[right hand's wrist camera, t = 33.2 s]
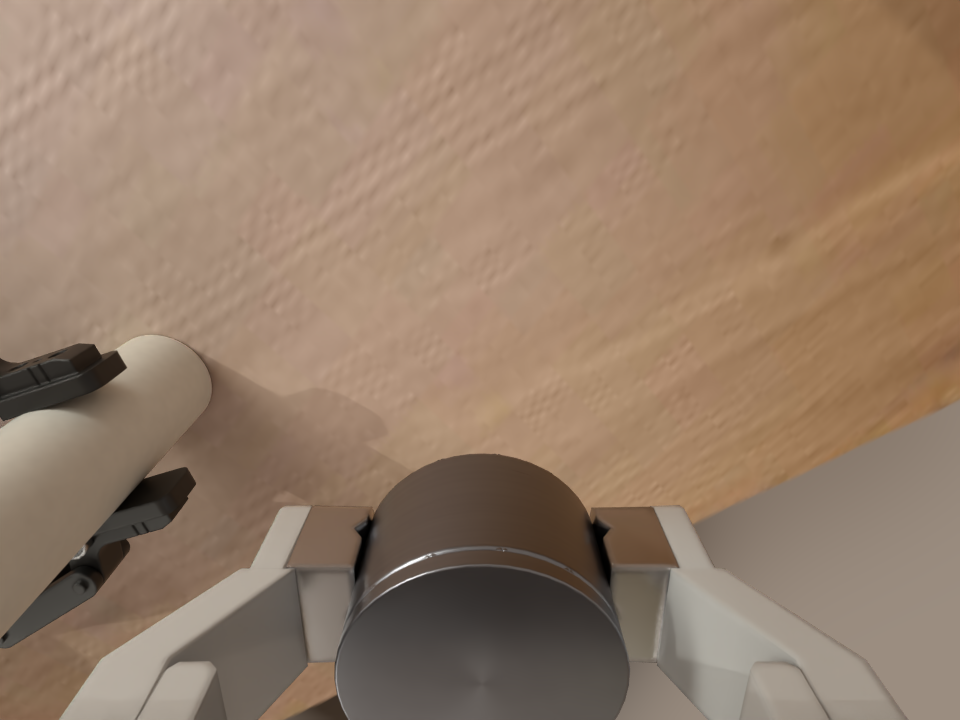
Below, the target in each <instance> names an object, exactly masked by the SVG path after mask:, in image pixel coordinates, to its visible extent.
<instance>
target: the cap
mask: <svg viewBox="0 0 960 720" xmlns="http://www.w3.org/2000/svg"><path fill="white" fill-rule="evenodd" d="M629 676H630V666H629V657H628V653H627V649H626V645H625V642H624V638H623V635H622V631H621V627H620V624H619V620H618V616H617V613H616V609H615V605H614V602H613V598H612V595H611V591H610V588H609V584H608V580H607V577H606V573H605V569H604V566H603V562H602V558H601V554H600V551H599V547H598V544H597V540H596V537H595V533H594V529H593V526H592V522H591V519H590V517H589V515H588V513H587V511H586V508H585V507H584V505H583V504H582V502H581V501H580V499H579V498H578V497H577V496H576V494H575V493H574V492H573V491H572V490H571V489H570V488H569V487H568V486H567V485H566V484H565V483H563V482H562V481H561V480H560V479H559V478H557V477H556V476H554V475H553V474H552V473H550V472H549V471H547V470H545V469H543V468H541V467H539V466H536V465H534V464H532V463H530V462H527V461H524V460H521V459H518V458H514V457H509V456H504V455H500V454H498V455H497V454H467V455H460V456H454V457H450V458H446V459H441V460H438V461H436V462H434V463H431V464H429V465H426V466H424V467H422V468H420V469H419V470H417V471H415V472H413V473H412V474H410V475H409V476H407V477H406V478H405V479H403V480H402V481H401V482H399V483H398V484H397V485H396V486H395V487H394V488H393V489H392V490H391V491H390V492H389V493H388V494H387V495H386V497H385V498H384V499H383V501H382V502H381V503H380V505H379V507H378V508H377V510H376V512H375V514H374V516H373V519H372V522H371V526H370V529H369V533H368V537H367V540H366V542H365V546H364V550H363V556H362V560H361V564H360V568H359V572H358V576H357V579H356V583H355V586H354V589H353V592H352V596H351V600H350V604H349V608H348V611H347V615H346V619H345V623H344V627H343V632H342V635H341V638H340V642H339V646H338V650H337V655H336V660H335V684H336V690H337V695H338V698H339V701H340V703H341V706H342V709H343V711H344V712H345V714H346V716H347V718H348V720H615V719H616V717H617V716H618V714H619V712H620V710H621V708H622V706H623V703H624V701H625V698H626V693H627V690H628V686H629Z"/></svg>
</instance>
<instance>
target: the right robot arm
mask: <svg viewBox="0 0 960 720" xmlns="http://www.w3.org/2000/svg"><path fill="white" fill-rule="evenodd" d="M373 516H374V510H373V508H372V507H357V506H284V507H282V508H281V509H280V510H279V512H278V514H277V515H276V517H275V519H274V521H273V523H272V525H271V527H270V529H269V531H268V533H267V535H266V537H265V539H264V541H263V543H262V545H261V547H260V549H259V551H258V553H257V555H256V557H255V559H254V561H253V563H252V565H251V567H250V568H242V569H239V570H238V571H236V572H235V573H233V574H232V575H230V576H228V577H227V578H225V579H224V580H222V581H221V582H219V583H218V584H216V585H215V586H213V587H211V588H210V589H208V590H207V591H205V592H204V593H202V594H201V595H199V596H198V597H196V598H194V599H193V600H191V601H190V602H188V603H187V604H185V605H184V606H182V607H181V608H179V609H177V610H176V611H174V612H173V613H171V614H170V615H168V616H167V617H165V618H164V619H162V620H160V621H159V622H157V623H156V624H154V625H153V626H151V627H150V628H148V629H146V630H145V631H143V632H142V633H140V634H139V635H137V636H136V637H134V638H133V639H131V640H129V641H128V642H126V643H125V644H123V645H122V646H120V647H119V648H117V649H116V650H114V651H112V652H111V653H109V654H108V655H106V656H105V657H103V658H102V659H101V660H100V661H99V663H98V664H97V666H96V667H95V668H94V670H93V671H92V673H91V674H90V676H89V677H88V679H87V680H86V681H85V683H84V684H83V686H82V687H81V689H80V690H79V691H78V693H77V694H76V696H75V697H74V699H73V700H72V702H71V703H70V704H69V706H68V707H67V709H66V710H65V712H64V713H63V715H62V716H61V717H60V719H59V720H258V719H259V718H260V717H261V716H262V715H263V713H264V712H265V711H266V710H267V709H268V708H269V707H270V706H271V705H272V704H273V703H274V702H275V701H276V699H277V698H278V697H279V696H280V695H281V694H282V693H283V692H284V691H285V690H286V689H287V688H288V687H289V686H290V684H291V683H292V682H293V681H294V680H295V679H296V678H297V677H298V676H299V675H300V674H301V673H302V672H303V670H304V669H305V668H306V667H307V666H308V664H307V663H316V662H335V660H336V655H337V650H338V646H339V642H340V638H341V635H342V632H343V627H344V623H345V619H346V615H347V611H348V608H349V604H350V600H351V596H352V592H353V589H354V586H355V583H356V579H357V576H358V572H359V568H360V564H361V560H362V556H363V550H364V546H365V542H366V540H367V537H368V533H369V529H370V526H371V522H372V519H373ZM590 519H591V522H592V526H593V529H594V533H595V537H596V540H597V544H598V547H599V551H600V554H601V558H602V562H603V566H604V569H605V573H606V577H607V580H608V584H609V588H610V591H611V595H612V598H613V602H614V605H615V609H616V613H617V616H618V620H619V624H620V627H621V631H622V635H623V638H624V642H625V645H626V649H627V653H628V657H629V662H649V663H657V666H658V667H659V668H660V669H661V670H662V671H663V672H664V673H665V674H666V675H667V676H668V678H669V679H670V680H671V681H672V682H673V683H674V684H675V685H676V686H677V687H678V688H679V689H680V690H681V692H682V693H683V694H684V695H685V696H686V697H687V698H688V699H689V700H690V701H691V702H692V703H693V704H694V705H695V706H696V707H697V709H698V710H699V711H700V712H701V713H702V714H703V715H704V716H705V717H706V718H707V719H708V720H908V719H907V717H906V716H905V714H904V713H903V712H902V710H901V709H900V707H899V706H898V704H897V703H896V702H895V700H894V699H893V697H892V696H891V694H890V693H889V691H888V690H887V689H886V687H885V686H884V684H883V683H882V682H881V680H880V679H879V677H878V676H877V674H876V673H875V672H874V670H873V669H872V667H871V666H870V664H869V663H868V662H867V660H866V659H864V658H863V657H861V656H860V655H858V654H857V653H855V652H853V651H852V650H850V649H849V648H847V647H846V646H844V645H843V644H841V643H839V642H838V641H836V640H835V639H833V638H832V637H830V636H829V635H827V634H825V633H824V632H822V631H821V630H819V629H818V628H816V627H815V626H813V625H811V624H810V623H808V622H807V621H805V620H804V619H802V618H801V617H799V616H797V615H796V614H794V613H793V612H791V611H790V610H788V609H787V608H785V607H783V606H782V605H780V604H779V603H777V602H776V601H774V600H773V599H771V598H769V597H768V596H766V595H765V594H763V593H762V592H760V591H759V590H757V589H755V588H754V587H752V586H751V585H749V584H748V583H746V582H745V581H743V580H741V579H740V578H738V577H737V576H735V575H734V574H732V573H731V572H729V571H727V570H726V569H723V568H722V569H721V568H715V566H714V565H713V563H712V561H711V559H710V557H709V555H708V553H707V551H706V549H705V547H704V545H703V544H702V542H701V540H700V538H699V536H698V534H697V532H696V530H695V528H694V526H693V524H692V523H691V521H690V519H689V517H688V515H687V513H686V511H685V509H684V508H683V507H681V506H680V505H667V506H650V507H594V508H591V512H590Z"/></svg>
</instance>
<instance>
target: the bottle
mask: <svg viewBox="0 0 960 720" xmlns="http://www.w3.org/2000/svg"><path fill="white" fill-rule="evenodd" d="M115 350H117V351H118V353H119V355H120V356H121V358H122V360H123V361H124V363H125V365H126V366H127V369H126V370H124V371H123V372H122V373H120V374H119V375H118V376H116V377H115V378H114V379H112V380H111V381H110V382H109V383H107V384H106V385H104V386H103V387H101V388H99V389H98V390H95V391H93V392H91V393H89V394H86V395H83V396H80V397H77V398H74V399H70V400H67V401H64V402H61V403H58V404H55V405H52V406H49V407H46V408H42V409H39V410H36V411H33V412H29V413H26V414H23V415H21V416H18V417H16V418H15V419H13V420H12V421H11V422H9V423H8V424H6V425H5V426H3V427H2V428H0V638H1V637H2V636H3V635H4V634H5V633H6V632H7V631H8V630H9V628H10V627H11V626H12V625H13V624H14V623H15V622H16V621H17V620H18V618H19V617H20V616H21V615H22V614H23V613H24V612H25V611H26V609H27V608H28V607H29V606H30V605H31V604H32V603H33V602H34V601H35V599H36V598H37V597H38V596H39V595H40V594H41V593H42V592H43V590H44V589H45V588H46V587H47V586H48V585H49V584H50V583H51V582H52V580H53V579H54V578H55V577H56V576H57V575H58V574H59V573H60V571H61V570H62V569H63V568H64V567H65V566H66V565H67V564H68V563H69V561H70V560H71V559H72V558H73V557H74V556H75V555H76V554H77V553H78V551H79V550H80V549H81V548H82V547H83V546H84V545H85V544H86V542H87V541H88V540H89V539H90V538H91V537H92V536H93V535H94V534H95V532H96V531H97V530H98V529H99V528H100V527H101V526H102V525H103V523H104V522H105V521H106V520H107V519H108V518H109V517H110V516H111V515H112V513H113V512H114V511H115V510H116V509H117V508H118V507H119V506H120V504H121V503H122V502H123V501H124V500H125V499H126V498H127V497H128V496H129V494H130V493H131V492H132V491H133V490H134V489H135V488H136V487H137V486H138V484H139V483H140V482H141V481H142V480H143V479H144V478H145V477H146V475H147V474H148V473H149V472H150V471H151V470H152V469H153V468H154V467H155V465H156V464H157V463H158V462H159V461H160V460H161V459H162V458H163V456H164V455H165V454H166V453H167V452H168V451H169V450H170V449H171V448H172V446H173V445H174V444H175V443H176V442H177V441H178V440H179V439H180V437H181V436H182V435H183V434H184V433H185V432H186V431H187V430H188V429H189V427H190V426H191V425H192V424H193V423H194V422H195V421H196V420H197V419H198V417H199V416H200V415H201V414H202V413H203V412H204V410H205V409H206V408H207V406H208V404H209V402H210V399H211V395H212V383H211V378H210V375H209V372H208V370H207V368H206V366H205V364H204V363H203V361H202V360H201V358H200V357H199V356H198V355H197V354H196V353H195V352H194V351H193V350H192V349H190V348H189V347H187V346H186V345H185V344H183V343H181V342H179V341H177V340H175V339H172V338H169V337H166V336H161V335H143V336H138V337H135V338H133V339H131V340H129V341H127V342H126V343H124V344H123V345H121V346H120V347H118V348H117V349H115ZM115 350H114V351H115Z"/></svg>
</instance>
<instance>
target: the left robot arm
mask: <svg viewBox="0 0 960 720" xmlns="http://www.w3.org/2000/svg"><path fill="white" fill-rule="evenodd" d="M126 369H127V366H126V365H125V363H124V361H123V360H122V358H121V356H120V355H119V353H118V351H117V350H115V351H111V352H108V353H105V354H102V355H100V353H99V351H98V350H97V348H96V347H95V345H94V344H76V345H73V346H70V347H67V348H64V349H61V350H58V351H55V352H52V353H49V354H46V355H43V356H40V357H37V358H34V359H31V360H28V361H25V362H22V363H10V362H7V361H4V360H2V359H1V358H0V417H1V419H2V420H3V421H5V420H8V419H11V418H14V417H18V416H21V415H23V414H26V413H29V412H33V411H36V410H39V409H42V408H46V407H49V406H52V405H55V404H58V403H61V402H64V401H67V400H70V399H74V398H77V397H80V396H83V395H86V394H89V393H91V392H93V391H95V390H98V389H99V388H101V387H103V386H104V385H106V384H107V383H109V382H110V381H111V380H112V379H114V378H115V377H116V376H118V375H119V374H120V373H122V372H123V371H124V370H126ZM195 485H196V482H195V480H194V479H193V477H192V475H191V474H190V472H189V470H188V469H187V468H186V467H183V468H179V469H176V470H172V471H169V472H165V473H162V474H159V475H155V476H152V477H148V478H145V479H143V480H142V481H141V482H140V483H139V484H138V486H137V487H136V488H135V489H134V490H133V491H132V492H131V493H130V494H129V496H128V497H127V498H126V499H125V500H124V501H123V502H122V503H121V504H120V506H119V507H118V508H117V509H116V510H115V511H114V512H113V513H112V515H111V516H110V517H109V518H108V519H107V520H106V521H105V522H104V523H103V525H102V526H101V527H100V528H99V529H98V530H97V531H96V532H95V534H94V535H93V536H92V537H91V538H90V539H89V540H88V541H87V542H86V544H85V545H84V546H83V547H82V548H81V549H80V550H79V551H78V553H77V554H76V555H75V556H74V557H73V558H72V559H71V560H70V561H69V563H68V564H67V565H66V566H65V567H64V568H63V569H62V570H61V571H60V573H59V574H58V575H57V576H56V577H55V578H54V579H53V580H52V582H51V583H50V584H49V585H48V586H47V587H46V588H45V589H44V590H43V592H42V593H41V594H40V595H39V596H38V597H37V598H36V599H35V601H34V602H33V603H32V604H31V605H30V606H29V607H28V608H27V609H26V611H25V612H24V613H23V614H22V615H21V616H20V617H19V618H18V620H17V621H16V622H15V623H14V624H13V625H12V626H11V627H10V628H9V630H8V631H7V632H6V633H5V634H4V635H3V636H2V637H1V638H0V648H10V647H12V646H13V645H15V644H17V643H18V642H20V641H21V640H23V639H25V638H26V637H28V636H30V635H31V634H33V633H34V632H36V631H38V630H39V629H41V628H43V627H44V626H46V625H47V624H49V623H51V622H52V621H54V620H56V619H57V618H59V617H60V616H62V615H64V614H65V613H67V612H69V611H70V610H72V609H73V608H75V607H77V606H78V605H80V604H82V603H83V602H85V601H87V600H88V599H90V598H91V597H93V596H94V595H95V594H96V593H97V591H98V590H99V589H100V588H101V586H102V585H103V584H104V583H105V581H106V580H107V579H108V578H109V576H110V575H111V574H112V572H113V571H114V570H115V569H116V567H117V566H118V565H119V564H120V562H121V561H122V560H123V558H124V557H125V556H126V555H127V553H128V552H129V550H130V545H129V542H128V541H127V540H126V539H127V538H131V537H135V536H138V535H142V534H145V533H148V532H152V531H156V530H160V529H163V528H164V527H165V526H166V525H168V524H169V523H170V522H171V521H172V520H173V519H174V517H175V516H176V515H177V513H178V512H179V511H180V509H181V508H182V507H183V505H184V504H185V503H186V501H187V500H188V497H187V496H188V494H189V493H190V492H191V490H192V489H193V488H194V486H195Z"/></svg>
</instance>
